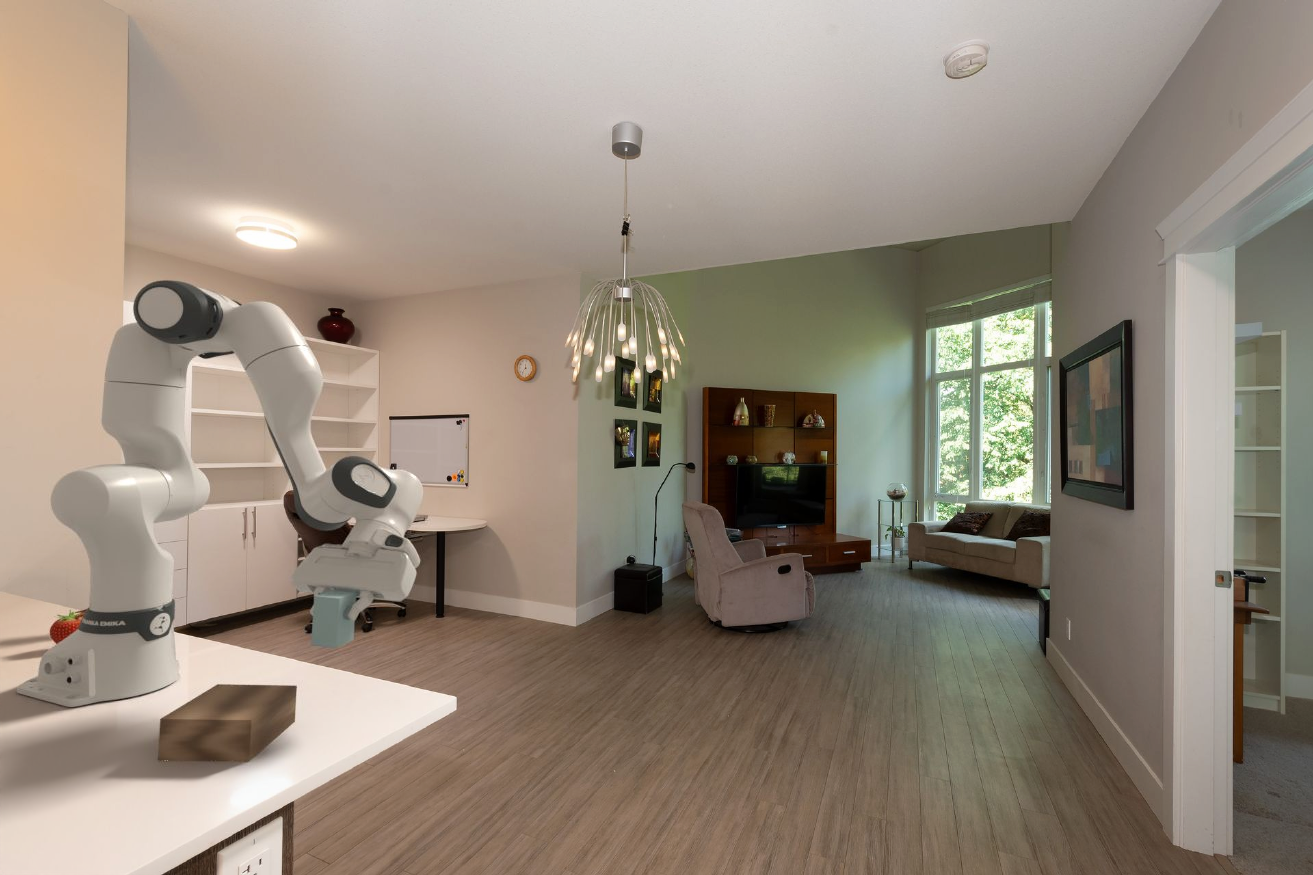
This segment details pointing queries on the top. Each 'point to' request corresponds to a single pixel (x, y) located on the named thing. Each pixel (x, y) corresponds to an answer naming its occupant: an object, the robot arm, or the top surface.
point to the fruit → (64, 626)
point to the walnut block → (227, 723)
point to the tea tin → (332, 619)
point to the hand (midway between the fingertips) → (331, 616)
